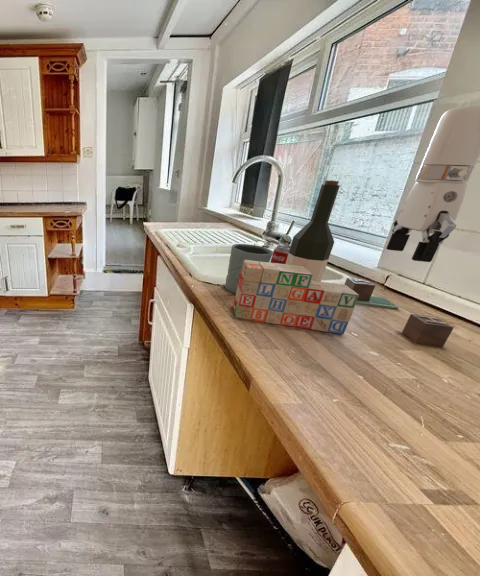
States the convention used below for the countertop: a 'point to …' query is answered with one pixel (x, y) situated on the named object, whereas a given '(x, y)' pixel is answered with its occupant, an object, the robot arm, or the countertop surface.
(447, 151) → the robot arm
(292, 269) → the stack of blocks
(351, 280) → the dark brown cube
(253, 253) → the grey cylindrical pot
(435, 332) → the dark brown wooden box
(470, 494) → the countertop surface
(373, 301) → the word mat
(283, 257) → the beverage can
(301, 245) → the wine bottle
